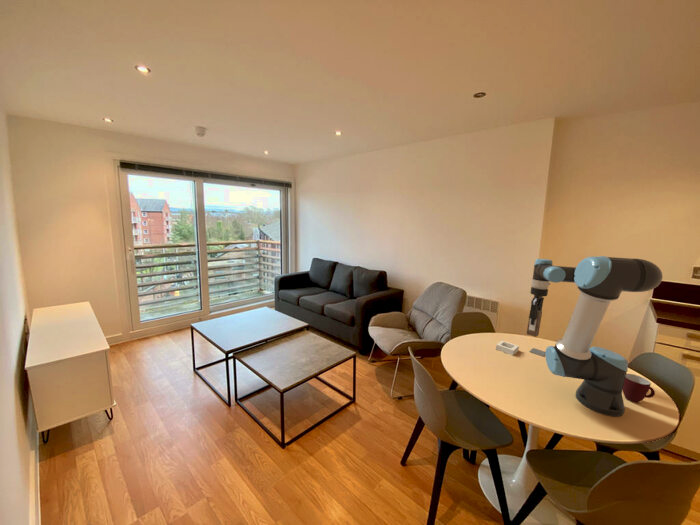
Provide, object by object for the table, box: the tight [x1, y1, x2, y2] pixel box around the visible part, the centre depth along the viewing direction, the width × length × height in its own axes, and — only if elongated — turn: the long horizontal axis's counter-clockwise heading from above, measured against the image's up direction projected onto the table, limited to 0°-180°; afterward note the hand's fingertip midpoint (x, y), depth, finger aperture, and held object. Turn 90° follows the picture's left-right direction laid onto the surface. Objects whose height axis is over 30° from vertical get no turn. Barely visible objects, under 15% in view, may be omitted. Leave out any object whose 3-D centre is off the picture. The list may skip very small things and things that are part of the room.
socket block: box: [495, 340, 520, 357], centre depth 158 cm, size 9×9×3 cm
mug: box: [622, 373, 656, 404], centre depth 116 cm, size 11×8×10 cm
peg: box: [526, 310, 543, 338], centre depth 149 cm, size 4×4×14 cm
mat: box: [528, 347, 546, 357], centre depth 157 cm, size 7×7×1 cm
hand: (533, 328), depth 149 cm, fingers closed on peg, 4 cm apart
